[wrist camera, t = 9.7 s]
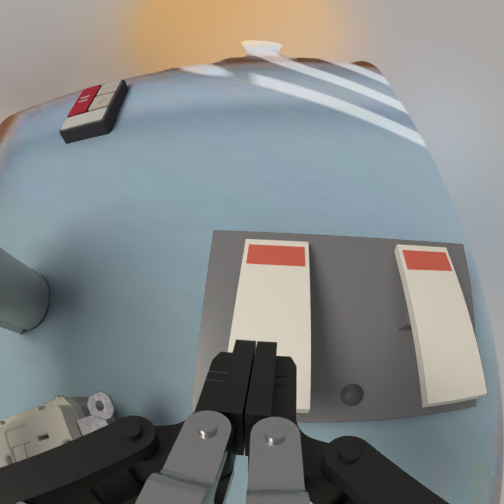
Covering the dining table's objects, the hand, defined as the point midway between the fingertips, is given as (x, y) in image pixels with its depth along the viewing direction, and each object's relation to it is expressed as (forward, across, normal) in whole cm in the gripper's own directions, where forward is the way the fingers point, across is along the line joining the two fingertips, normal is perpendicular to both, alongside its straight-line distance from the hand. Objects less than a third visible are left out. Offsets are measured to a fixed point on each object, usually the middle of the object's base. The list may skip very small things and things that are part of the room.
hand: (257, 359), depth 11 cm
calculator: (+49, -38, +15) cm, 64 cm away
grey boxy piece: (+7, -25, -27) cm, 38 cm away
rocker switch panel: (+21, +7, -14) cm, 26 cm away
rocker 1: (+12, 0, -6) cm, 14 cm away
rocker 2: (+13, +15, -6) cm, 21 cm away
